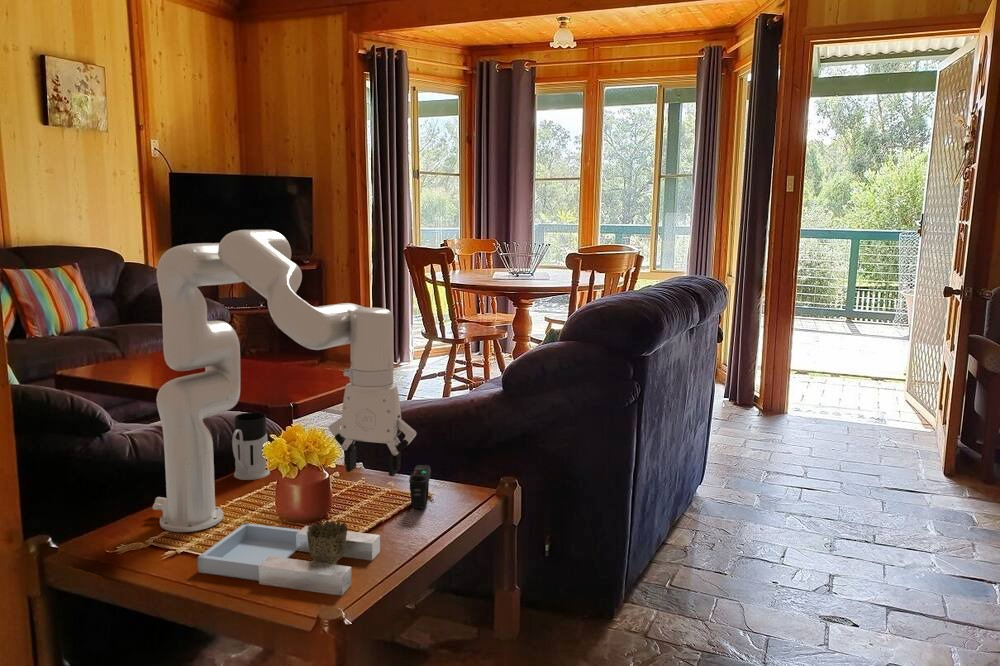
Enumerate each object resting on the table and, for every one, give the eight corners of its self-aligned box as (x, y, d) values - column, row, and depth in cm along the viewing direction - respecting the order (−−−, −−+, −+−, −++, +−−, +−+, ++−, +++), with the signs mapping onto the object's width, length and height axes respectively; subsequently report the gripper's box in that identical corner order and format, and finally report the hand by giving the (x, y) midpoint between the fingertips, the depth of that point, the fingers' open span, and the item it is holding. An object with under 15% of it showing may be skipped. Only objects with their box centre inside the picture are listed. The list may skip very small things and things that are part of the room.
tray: (198, 572, 139) (197, 557, 139) (245, 536, 155) (244, 522, 154) (262, 581, 137) (261, 565, 136) (303, 544, 152) (303, 530, 152)
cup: (312, 558, 146) (311, 519, 145) (350, 559, 146) (350, 520, 145) (303, 576, 139) (302, 535, 137) (343, 577, 139) (342, 536, 138)
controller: (407, 515, 168) (407, 472, 166) (414, 494, 180) (414, 454, 178) (426, 516, 168) (427, 473, 166) (432, 495, 180) (432, 455, 178)
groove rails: (259, 583, 136) (258, 565, 135) (305, 542, 153) (305, 525, 152) (342, 595, 132) (341, 577, 132) (380, 551, 150) (380, 535, 149)
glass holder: (275, 469, 195) (274, 412, 193) (252, 488, 181) (250, 428, 179) (242, 467, 196) (241, 411, 193) (217, 486, 182) (215, 426, 179)
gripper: (317, 378, 133) (318, 473, 136) (411, 385, 129) (410, 483, 132) (335, 369, 140) (336, 460, 143) (425, 376, 136) (424, 469, 139)
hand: (372, 471), depth 137 cm, fingers open, 7 cm apart
